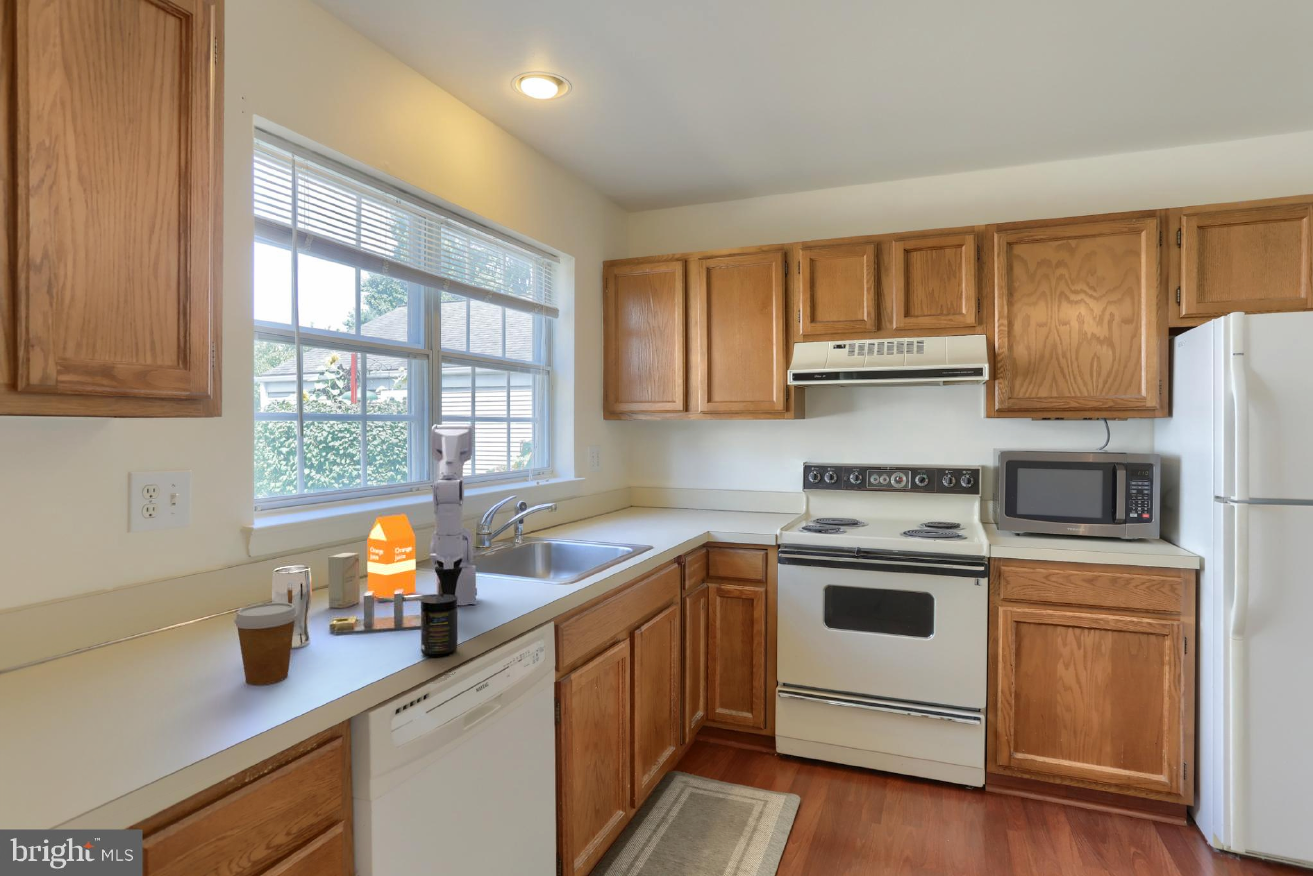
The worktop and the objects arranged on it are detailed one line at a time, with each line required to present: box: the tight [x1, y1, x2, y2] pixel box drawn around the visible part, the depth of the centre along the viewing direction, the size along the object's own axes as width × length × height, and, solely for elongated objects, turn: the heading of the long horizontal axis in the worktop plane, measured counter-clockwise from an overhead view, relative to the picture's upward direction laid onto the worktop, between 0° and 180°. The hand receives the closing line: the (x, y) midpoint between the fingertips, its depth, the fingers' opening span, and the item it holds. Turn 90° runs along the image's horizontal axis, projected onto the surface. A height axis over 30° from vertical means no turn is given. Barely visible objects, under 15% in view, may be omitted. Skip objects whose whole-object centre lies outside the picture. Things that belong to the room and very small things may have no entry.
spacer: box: [329, 615, 358, 631], centre depth 148 cm, size 1×5×5 cm
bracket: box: [334, 589, 421, 636], centre depth 150 cm, size 18×9×7 cm, turn 106°
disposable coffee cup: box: [233, 602, 298, 686], centre depth 119 cm, size 10×10×12 cm
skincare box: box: [327, 552, 361, 609], centre depth 167 cm, size 6×4×12 cm
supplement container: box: [420, 594, 459, 659], centre depth 132 cm, size 7×7×10 cm
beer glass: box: [271, 565, 313, 650], centre depth 137 cm, size 7×7×15 cm
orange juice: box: [366, 513, 416, 598], centre depth 178 cm, size 8×9×20 cm
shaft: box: [377, 582, 442, 604], centre depth 152 cm, size 15×2×6 cm, turn 106°
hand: (449, 595), depth 154 cm, fingers open, 7 cm apart
